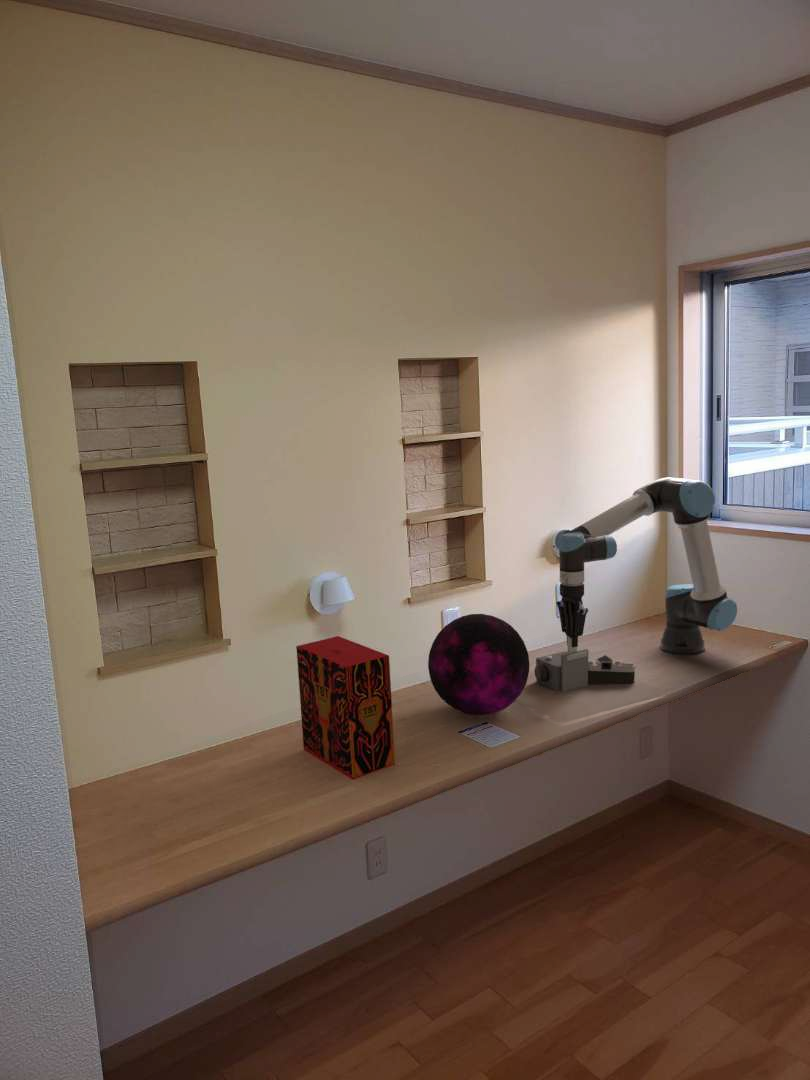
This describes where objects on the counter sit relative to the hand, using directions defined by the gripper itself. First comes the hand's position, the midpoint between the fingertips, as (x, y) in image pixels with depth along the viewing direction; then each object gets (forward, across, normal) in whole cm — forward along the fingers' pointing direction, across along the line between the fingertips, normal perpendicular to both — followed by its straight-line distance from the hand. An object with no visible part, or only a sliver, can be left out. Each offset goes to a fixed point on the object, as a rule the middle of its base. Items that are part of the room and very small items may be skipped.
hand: (572, 655), depth 279 cm
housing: (+12, -6, 0) cm, 13 cm away
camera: (+12, +2, +14) cm, 18 cm away
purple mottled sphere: (+12, -1, -34) cm, 36 cm away
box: (+12, +6, -81) cm, 82 cm away
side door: (+11, +1, 0) cm, 11 cm away
